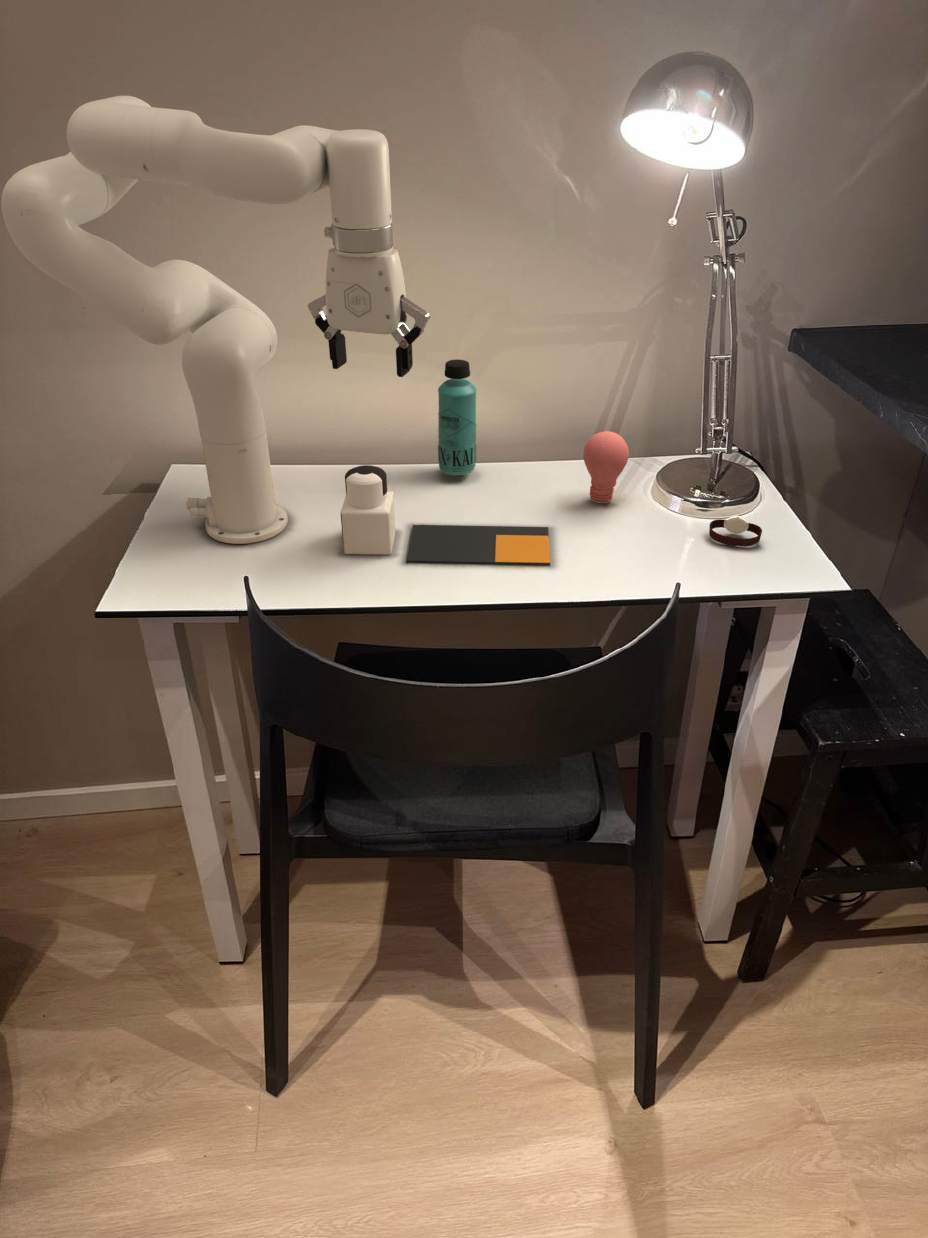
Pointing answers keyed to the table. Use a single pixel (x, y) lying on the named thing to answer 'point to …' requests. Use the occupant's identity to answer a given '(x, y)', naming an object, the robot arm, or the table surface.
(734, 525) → the watch
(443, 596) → the table surface
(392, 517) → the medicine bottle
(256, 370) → the robot arm
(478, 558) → the desk mat
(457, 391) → the beverage bottle
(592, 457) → the light bulb
